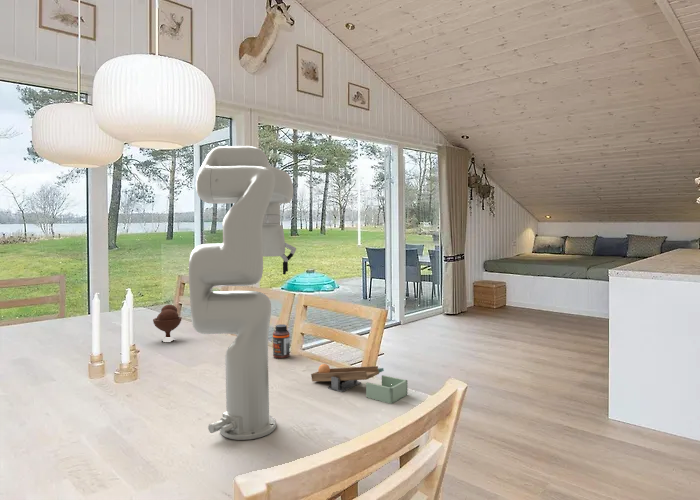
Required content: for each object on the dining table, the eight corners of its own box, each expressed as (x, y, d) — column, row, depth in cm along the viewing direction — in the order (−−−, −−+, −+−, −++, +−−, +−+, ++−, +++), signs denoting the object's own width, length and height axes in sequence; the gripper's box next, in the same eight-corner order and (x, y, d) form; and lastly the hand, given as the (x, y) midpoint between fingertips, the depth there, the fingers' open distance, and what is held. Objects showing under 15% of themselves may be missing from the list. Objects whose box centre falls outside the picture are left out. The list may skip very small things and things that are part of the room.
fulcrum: (341, 392, 131) (341, 379, 131) (327, 388, 134) (327, 376, 134) (361, 383, 139) (360, 371, 138) (347, 380, 142) (347, 368, 141)
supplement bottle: (269, 357, 168) (269, 326, 167) (279, 353, 173) (279, 323, 172) (283, 359, 165) (282, 327, 164) (293, 355, 170) (292, 324, 170)
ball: (325, 377, 138) (324, 365, 138) (316, 376, 141) (315, 365, 141) (332, 374, 141) (331, 363, 141) (323, 373, 143) (322, 362, 143)
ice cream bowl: (152, 339, 197) (151, 304, 196) (181, 337, 202) (180, 302, 201) (154, 345, 188) (152, 308, 187) (183, 342, 192) (182, 305, 192)
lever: (366, 379, 128) (364, 371, 128) (312, 381, 140) (311, 374, 140) (386, 370, 136) (384, 363, 136) (333, 373, 148) (332, 366, 148)
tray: (391, 403, 122) (391, 388, 122) (366, 397, 127) (366, 382, 127) (407, 394, 128) (407, 380, 128) (382, 389, 133) (382, 375, 133)
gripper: (239, 221, 146) (240, 275, 147) (294, 220, 147) (295, 275, 148) (243, 221, 154) (244, 273, 154) (296, 220, 155) (297, 272, 155)
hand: (269, 274), depth 151 cm, fingers open, 9 cm apart
